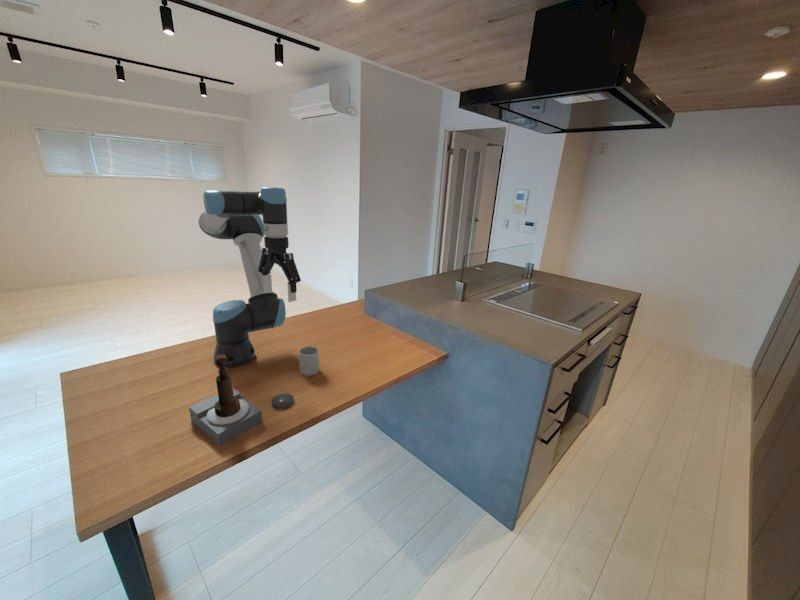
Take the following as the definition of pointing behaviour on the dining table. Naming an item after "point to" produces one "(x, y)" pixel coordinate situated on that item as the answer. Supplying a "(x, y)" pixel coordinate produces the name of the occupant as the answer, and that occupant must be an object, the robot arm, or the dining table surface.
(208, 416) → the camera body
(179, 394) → the dining table surface
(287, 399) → the dark grey dome
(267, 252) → the robot arm
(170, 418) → the dining table surface
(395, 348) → the dining table surface
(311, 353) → the cup
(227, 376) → the brown wooden pepper mill
